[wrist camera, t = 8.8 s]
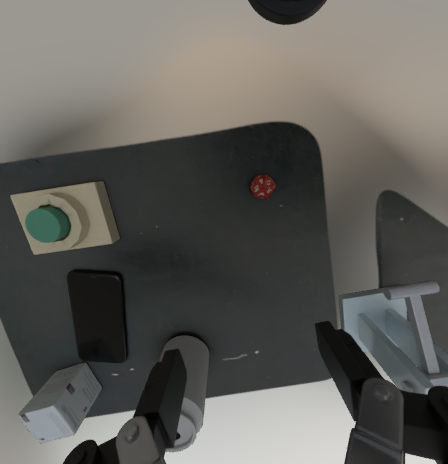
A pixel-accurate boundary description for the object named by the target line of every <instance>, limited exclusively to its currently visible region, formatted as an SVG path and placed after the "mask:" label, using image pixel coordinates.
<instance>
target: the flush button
mask: <svg viewBox="0 0 448 464" xmlns="http://www.w3.org/2000/svg"><path fill="white" fill-rule="evenodd" d="M25 225H26V229H27V231H28V232H29V234H30V235H31V236H32V237H33V238H34V239H36V240H38V241H40V242H44V243H50V242H53V241H56V240H58V239H60V238H63V237H65V236H66V235H67V234H68V233H69V231H70V220H69V218H68V216H67V215H66V214H65V213H64V212H63V211H62V210H60V209H59V208H56V207H44V208H39V209H34V210H32V211H30V212H29V213H28V215H27V216H26V219H25Z"/></svg>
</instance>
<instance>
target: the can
mask: <svg viewBox="0 0 448 464" xmlns="http://www.w3.org/2000/svg"><path fill="white" fill-rule="evenodd" d="M173 349H179V350H180V352H181V355H182V358H183V361H184V364H185V367H186V370H187V382H186V387H185V393H184V398H183V403H182V408H181V413H180V418H179V424H178V429H177V434H176V439H175V444H174V448H167V449H166V450H165V452H176V451H181V450H183V449H186V448H188V447H189V446H190V445H191V444H193V442H194V440H195V438H196V434H197V433H198V432H199V431H200V429H201V427H202V425H203V417H204V407H205V396H206V386H207V376H208V365H209V351H208V348H207V346H206V345H205V344H204V343H203V342H202V341H201V340H199V339H198V338H195V337H192V336H184V335H183V336H177V337H175V338H173V339H171V340H169V341H168V342H167V343H166V344H165V346H164V349H163V351H162V354H161V357H160V360H159V362H161V361H162V358H163V355H164V353H165V351H167V350H173Z"/></svg>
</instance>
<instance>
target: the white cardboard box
mask: <svg viewBox="0 0 448 464" xmlns="http://www.w3.org/2000/svg"><path fill="white" fill-rule="evenodd" d="M101 390H102V386H101V385H100V383H99V382H98V381H97V379H96V378H95V376H94V374H93V373H92V371H91V370H90V368H89V366H88V364H87V363H85V362H84V363H81V364H78V365H74V366H71V367H68V368H65V369H62V370H59V371H56V372H55V373H54V374H53V375H52V377H51V378H50V379H49V380H48V381H47V382H46V383H45V384H44V386H43V387H42V388H41V389H40V390H39V391H38V392H37V394H36V395H35V396H34V397H33V398H32V399H31V400H30V402H29V403H28V404H27V405H26V406H25V407H24V408H23V409H22V411H21V412H20V413H19V414H18V417H19V418H20V419H21V420H22V421H23V423H24V424H25V426H26V427H27V429H28V430H29V432H31V433H32V434H33V435H34V436H35V438H36V439H37V440H38V441H39V443H41V444H42V443H45V442H49V441H52V440H56V439H60V438H64V437H68V436H72V435H74V434H75V433H76V431H77V430H78V428H79V426H80V425H81V423H82V421H83V420H84V418H85V416H86V415H87V413H88V411H89V410H90V408H91V406H92V405H93V403H94V401H95V400H96V398H97V396H98V395H99V393H100V391H101Z"/></svg>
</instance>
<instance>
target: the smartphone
mask: <svg viewBox="0 0 448 464" xmlns="http://www.w3.org/2000/svg"><path fill="white" fill-rule="evenodd" d="M67 283H68V289H69V296H70V303H71V310H72V317H73V323H74V330H75V337H76V344H77V350H78V356H79V358H80V359H81V360H83V361H92V362H108V363H124V362H125V361H126V360H127V344H126V330H125V316H124V301H123V288H122V279H121V277H120V275H118V274H116V273H106V272H91V271H71V272H69V273H68V275H67Z"/></svg>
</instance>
